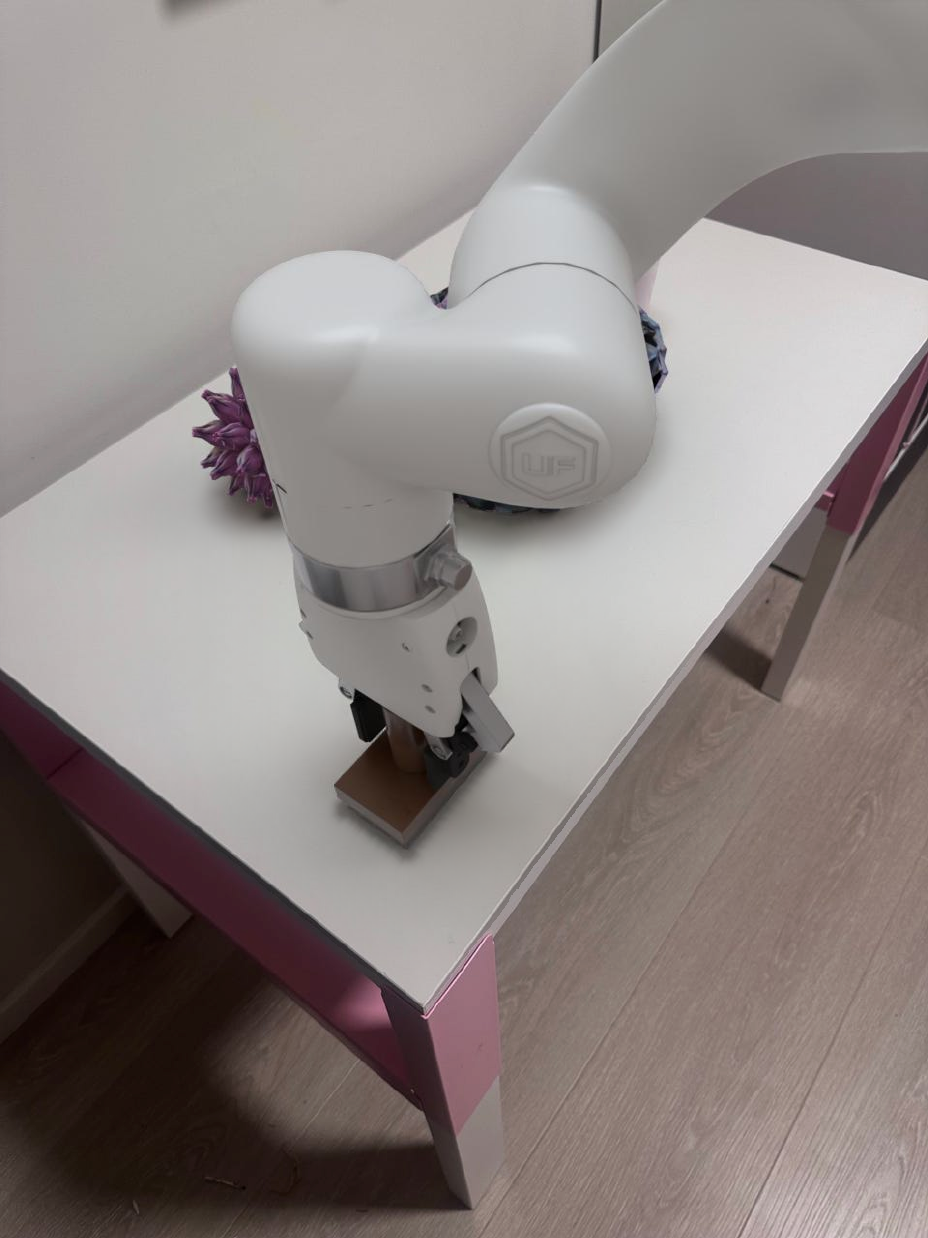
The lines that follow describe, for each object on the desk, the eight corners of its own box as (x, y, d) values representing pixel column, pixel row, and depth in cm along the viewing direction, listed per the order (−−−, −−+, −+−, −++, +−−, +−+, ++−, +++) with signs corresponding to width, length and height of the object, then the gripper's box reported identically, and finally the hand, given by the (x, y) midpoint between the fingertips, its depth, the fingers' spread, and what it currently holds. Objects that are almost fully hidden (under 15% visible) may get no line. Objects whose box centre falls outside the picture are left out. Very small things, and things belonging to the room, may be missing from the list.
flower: (271, 561, 73) (175, 481, 76) (372, 479, 78) (278, 408, 81) (252, 470, 63) (143, 384, 66) (369, 383, 68) (262, 307, 71)
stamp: (429, 711, 60) (415, 623, 53) (494, 752, 58) (488, 665, 51) (341, 808, 56) (312, 726, 49) (407, 856, 54) (387, 777, 46)
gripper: (576, 564, 38) (564, 774, 52) (298, 429, 45) (352, 645, 59) (473, 678, 35) (489, 872, 49) (188, 512, 42) (273, 722, 56)
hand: (413, 745), depth 54 cm, fingers open, 4 cm apart
